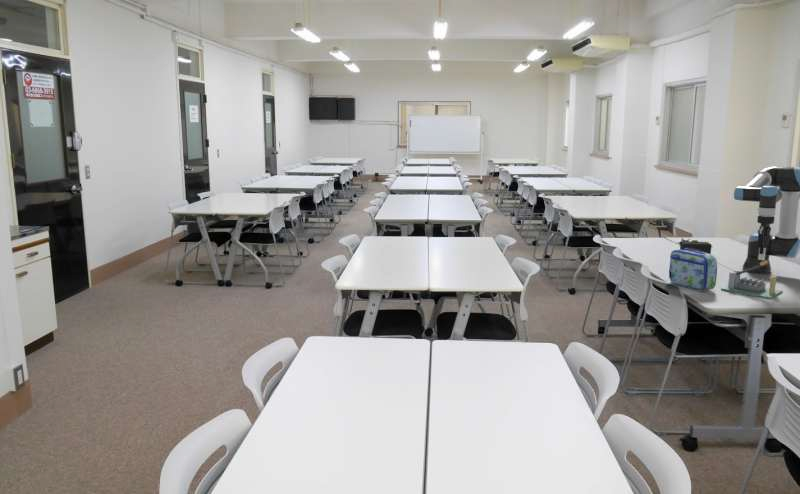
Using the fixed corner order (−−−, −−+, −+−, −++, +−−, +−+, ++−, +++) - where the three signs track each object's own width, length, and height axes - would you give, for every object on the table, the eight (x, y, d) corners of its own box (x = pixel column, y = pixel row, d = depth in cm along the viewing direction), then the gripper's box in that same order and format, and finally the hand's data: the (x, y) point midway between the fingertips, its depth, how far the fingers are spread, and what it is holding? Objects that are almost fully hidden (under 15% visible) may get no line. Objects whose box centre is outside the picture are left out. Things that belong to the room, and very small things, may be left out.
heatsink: (742, 285, 330) (744, 276, 329) (765, 289, 322) (766, 279, 321) (736, 289, 324) (737, 279, 323) (758, 293, 316) (759, 283, 315)
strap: (739, 274, 328) (737, 270, 329) (768, 263, 317) (766, 260, 317) (736, 275, 326) (734, 271, 326) (766, 265, 314) (764, 261, 314)
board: (734, 284, 338) (736, 266, 336) (782, 292, 320) (784, 274, 318) (721, 290, 326) (722, 272, 324) (770, 299, 308) (772, 280, 306)
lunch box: (665, 282, 343) (667, 246, 339) (679, 280, 347) (682, 245, 343) (701, 293, 319) (705, 255, 315) (717, 291, 323) (720, 253, 319)
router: (711, 275, 358) (714, 242, 354) (678, 274, 361) (681, 241, 358) (707, 272, 366) (710, 240, 362) (675, 271, 369) (678, 239, 365)
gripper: (762, 213, 320) (757, 256, 324) (753, 216, 311) (749, 260, 316) (778, 215, 314) (773, 258, 319) (770, 217, 306) (764, 262, 310)
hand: (761, 259), depth 317 cm, fingers closed
